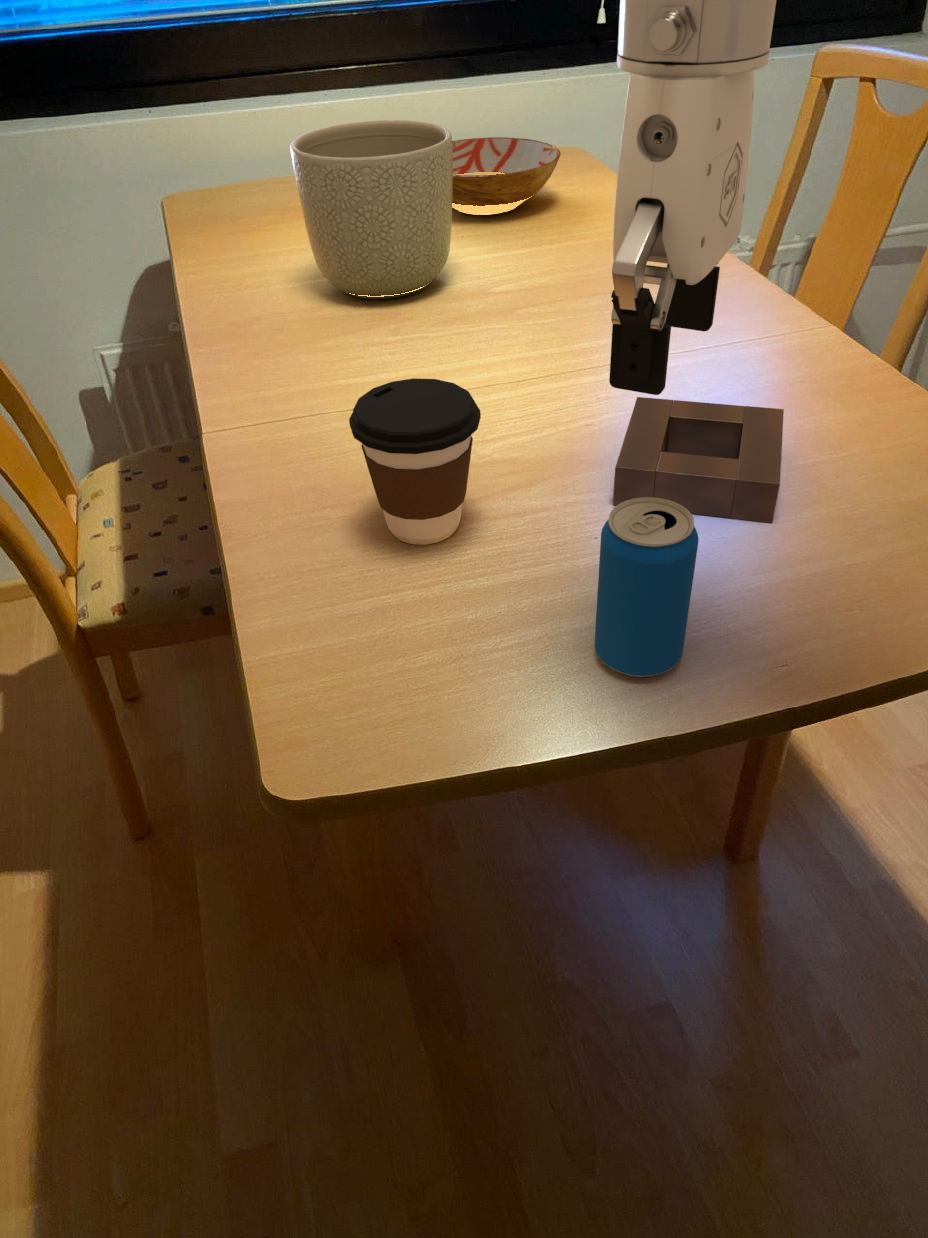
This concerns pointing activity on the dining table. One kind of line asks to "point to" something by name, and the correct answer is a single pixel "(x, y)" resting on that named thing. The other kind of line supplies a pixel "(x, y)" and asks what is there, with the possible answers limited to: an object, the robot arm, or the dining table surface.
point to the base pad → (702, 457)
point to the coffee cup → (418, 454)
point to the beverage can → (644, 585)
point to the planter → (377, 203)
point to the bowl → (500, 169)
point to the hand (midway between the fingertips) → (663, 356)
